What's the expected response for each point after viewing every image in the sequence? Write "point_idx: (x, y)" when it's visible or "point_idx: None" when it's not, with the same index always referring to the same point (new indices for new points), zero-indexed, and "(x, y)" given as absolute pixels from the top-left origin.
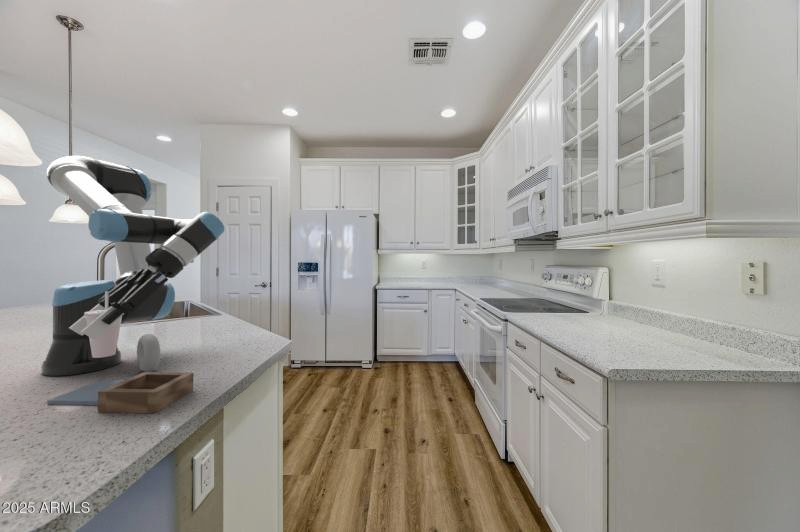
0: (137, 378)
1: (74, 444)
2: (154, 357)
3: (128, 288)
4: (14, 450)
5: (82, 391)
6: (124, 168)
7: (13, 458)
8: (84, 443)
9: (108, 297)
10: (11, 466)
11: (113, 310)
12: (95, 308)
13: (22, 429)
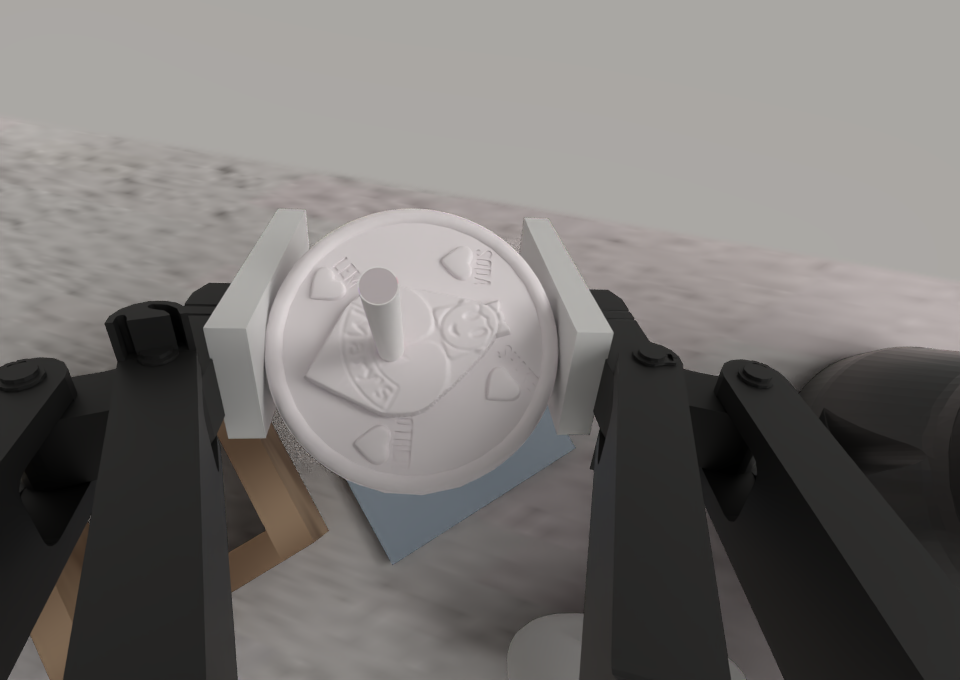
0: (241, 482)
1: (28, 237)
2: (507, 666)
3: (599, 660)
4: (147, 154)
5: None
6: None
7: (94, 143)
8: (5, 252)
9: (379, 328)
10: (46, 131)
11: (202, 344)
12: (566, 313)
13: (292, 194)
